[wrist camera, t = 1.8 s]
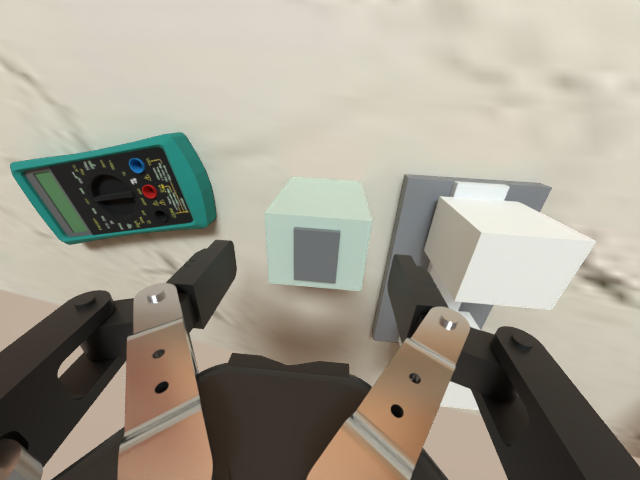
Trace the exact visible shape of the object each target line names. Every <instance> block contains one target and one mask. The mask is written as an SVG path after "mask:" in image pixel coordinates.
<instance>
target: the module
mask: <svg viewBox="0 0 640 480" xmlns="http://www.w3.org/2000/svg"><path fill="white" fill-rule="evenodd" d="M371 227H372V218H371V214H370V211H369V207H368V203H367V200H366V196H365V193H364V189H363V186H362V182H361V181H352V180H337V179H322V178H307V177H292V178H291V179H290V180H289V181H288V183H287V184H286V185H285V187H284V188H283V189H282V191H281V192H280V193H279V195H278V196H277V197H276V199H275V200H274V201H273V203H272V204H271V205H270V206H269V208H268V209H267V210H266V212H265V228H266V244H267V260H268V277H269V283H272V284H284V285H295V286H306V287H318V288H329V289H341V290H352V291H361V289H362V283H363V277H364V270H365V264H366V258H367V252H368V246H369V239H370V233H371Z"/></svg>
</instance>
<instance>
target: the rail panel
mask: <svg viewBox="0 0 640 480" xmlns="http://www.w3.org/2000/svg"><path fill="white" fill-rule="evenodd" d="M551 189H552V187H549V186H546V185H543V184H541V183H528V182H513V181H498V180H483V179H467V178H452V177H437V176H421V175H406V174H405V176H404V181H403V186H402V191H401V196H400V200H399V205H398V210H397V215H396V220H395V224H394V229H393V234H392V239H391V244H390V248H389V253H388V258H387V263H386V268H385V272H384V277H383V282H382V287H381V292H380V296H379V301H378V306H377V311H376V315H375V320H374V325H373V330H372V333H373V340H376V341H386V342H397V343H399V346H400V347H401V345H402V342H401V338H400V335H399V331H398V327H397V324H396V320H395V316H394V313H393V309H392V305H391V302H390V298H389V294H388V287H387V285H388V278H389V273H390V269H391V265H392V260H393V257H394V255H395V254H401V255H411V256H412V258H413V260H414V262H415V264H416V266H422V267H423V268H424V269H425V270H427V271H428V272H429V273H430V275H431V277H432V278H433V280H434V282H435V284H436V285H437V288H438V289H439V291H440V293H441V294H442V296H443V298H444V300H445V302H446V303H447V305H448V307H449V308H450V309H453V310H455V311H457V312H458V313H460V314H461V315H463V316H464V317H465V318H466V320H467V321H468V322H469V325H470V327H472V328H475V329H478V330H481V329H482V327H483V325H484V323H485V321H486V319H487V317H488V315H489V313H490V311H491V309H492V307H493V305H502V306H513V307H524V308H536V309H547V310H552V309H553V307H554V305H555V304H556V302H557V301H558V299H559V298H560V296H561V295H562V293H563V292H564V290H565V289H566V287H567V286H568V284H569V283H570V281H571V280H572V278H573V276H574V275H575V273H576V272H577V270H578V269H579V267H580V266H581V264H582V263H583V261H584V260H585V258H586V257H587V255H588V254H589V252H590V250H591V249H592V247H593V246H594V244H595V243H596V241H595V240H593V239H591V238H589V237H587V236H585V235H583V234H581V233H579V232H577V231H575V230H573V229H571V228H569V227H567V226H565V225H563V224H561V223H559V222H558V221H556V220H554V219H552V218H550V217H548V216H546V215H544V214H542V213H540V211H541V209H542V207H543V205H544V203H545V201H546V199H547V197H548V195H549V193H550V191H551ZM440 406H443V407H453V408H462V409H471V410H479V408H478V406H477V403H476V401H475V398H474V396H473V394H472V391H471V389H469V388H466V387H464V386H461V385H459V384H456V383H453V382H451V381H450V382H449V384H448V387H447V389H446V392H445V394H444V397H443V399H442V402H441V404H440Z"/></svg>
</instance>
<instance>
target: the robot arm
mask: <svg viewBox="0 0 640 480" xmlns="http://www.w3.org/2000/svg"><path fill="white" fill-rule="evenodd" d="M236 271H237V267H236V259H235V251H234V244H233V242H232V241H227V240H215V241H214V242H213V243H212V244H211V245H210V246H209V247H208V248H207V249H203V250H201V251H199V252H197V253H195V254H194V255H193V256H192V257H191V258H190V259H189V261H187V262H186V263H185V264H184V265H183V266H182V267H181V268H180V269H179V270H178V271H177V272H176V273H175V274H174V275H173V276H172V277H171V278H170V279H169V280H168V281H167V282H166V283H160V284H155V285H152V286H149V287H147V288H145V289H143V290H141V291H140V292H139V293H138V294H137V295H136V296H135V298H132V299H124V300H117V301H113V299H112V297H111V295H110V293H109V292H107V291H102V290H98V291H91V292H87V293H84V294H81V295H78V296H76V297H74V298H72V299H70V300H69V301H67V302H66V303H65V304H63V305H62V306H61V307H59V308H58V309H57V310H55V311H54V312H53V313H51V314H50V315H49V316H47V317H46V318H45V319H43V320H42V321H41V322H39V323H38V324H37V325H36V326H34V327H33V328H32V329H30V330H29V331H28V332H26V333H25V334H24V335H22V336H21V337H20V338H18V339H17V340H16V341H14V342H13V343H12V344H11V345H9V346H8V347H6V348H5V349H4V350H3V351H1V352H0V480H41V477H42V472H43V467H44V466H45V464H46V463H47V462H48V460H49V459H50V458H51V457H52V455H53V454H54V453H55V451H56V450H57V449H58V448H59V446H60V445H61V444H62V442H63V441H64V440H65V438H66V437H67V436H68V435H69V433H70V432H71V431H72V430H73V428H74V427H75V426H76V424H77V423H78V422H79V421H80V419H81V418H82V417H83V415H84V414H85V413H86V412H87V410H88V409H89V407H90V406H91V405H92V404H93V403H94V401H95V400H96V399H97V397H98V396H99V395H100V393H101V392H102V391H103V389H104V388H105V387H106V386H107V384H108V383H109V382H110V381H111V379H112V378H113V377H114V375H115V374H116V373H117V371H118V370H119V369H120V368H121V366H122V365H123V364H124V362H125V361H126V397H125V427H123V428H122V429H121V430H119V431H118V432H116V433H115V434H114V435H112V436H111V437H109V438H108V439H107V440H105V441H104V442H103V443H101V444H100V445H99V446H97V447H96V448H94V449H93V450H91V451H90V452H89V453H87V454H86V455H85V456H84V457H82V458H80V459H79V460H78V461H76V462H75V463H74V464H72V465H71V466H69V467H68V468H67V469H65V470H64V471H63V472H61V473H60V474H58V475H57V476H56V477H54V478H53V479H52V480H448V478H447V477H446V476H445V475H444V474H443V472H442V471H441V470H440V468H439V467H438V466H437V465H436V463H435V462H434V461H433V460H432V459H431V457H430V456H429V455H428V454H427V452H426V451H425V450H424V449H423V445H424V443H425V440H426V438H427V436H428V433H429V431H430V428H431V426H432V423H433V421H434V418H435V416H436V414H437V411H438V409H439V406H440V404H441V402H442V399H443V397H444V394H445V392H446V389H447V387H448V384H449V382H450V381H451V382H453V383H456V384H459V385H461V386H464V387H466V388H469V389H471V391H472V394H473V396H474V398H475V401H476V403H477V406H478V408H479V410H480V413H481V415H482V418H483V420H484V422H485V425H486V427H487V430H488V432H489V434H490V437H491V439H492V442H493V444H494V447H495V449H496V452H497V454H498V456H499V459H500V461H501V463H502V466H503V468H504V471H505V473H506V475H507V478H508V480H640V467H639V465H638V464H637V463H636V462H635V460H634V459H633V458H632V457H631V455H630V454H629V453H628V452H627V450H626V449H625V448H624V447H623V445H622V444H621V443H620V442H619V440H618V439H617V438H616V436H615V435H614V434H613V433H612V431H611V430H610V429H609V428H608V426H607V425H606V424H605V423H604V421H603V420H602V419H601V418H600V416H599V415H598V414H597V413H596V411H595V410H594V409H593V408H592V406H591V405H590V404H589V403H588V401H587V400H586V399H585V398H584V396H583V395H582V394H581V393H580V391H579V390H578V389H577V388H576V386H575V385H574V384H573V383H572V381H571V380H570V379H569V378H568V376H567V375H566V374H565V373H564V371H563V370H562V369H561V368H560V366H559V365H558V364H557V363H556V361H555V360H554V359H553V358H552V356H551V355H550V354H549V353H548V351H547V350H546V349H545V348H544V346H543V345H542V344H541V343H540V342H539V341H538V340H537V339H536V338H534V337H533V336H531V335H530V334H528V333H526V332H524V331H522V330H520V329H517V328H514V327H508V326H504V327H500V328H498V330H497V331H496V333H495V335H494V334H491V333H488V332H484V331H481V330H478V329H475V328H472V327H470V325H469V322H468V321H467V320H466V318H465V317H464V316H463V315H461V314H460V313H458V312H457V311H455V310H453V309H450V308H449V307H448V305H447V303H446V302H445V300H444V298H443V296H442V294H441V293H440V291H439V289H438V288H437V285H436V284H435V282H434V280H433V278H432V277H431V275H430V273H429V272H428V271H427V270H425V269H424V268H423V267H422V266H416V264H415V262H414V260H413V258H412V256H411V255H401V254H395V255H394V257H393V260H392V265H391V269H390V273H389V278H388V285H387V287H388V294H389V298H390V302H391V305H392V309H393V313H394V316H395V320H396V324H397V327H398V331H399V335H400V338H401V342H402V345H401V347H400V348H399V350H398V351H397V352H396V354H395V355H394V357H393V358H392V360H391V361H390V363H389V364H388V365H387V367H386V368H385V370H384V371H383V373H382V374H381V376H380V377H379V378H378V380H377V381H376V383H375V384H374V386H373V387H372V386H370V385H369V384H368V383H366V382H365V381H363V380H362V379H360V378H358V377H356V376H354V375H351V374H349V364H344V363H333V362H323V361H318V362H311V363H304V364H297V365H285V364H282V363H280V362H277V361H274V360H271V359H268V358H266V357H263V356H259V355H248V354H238V353H232V355H231V357H230V360H229V362H228V363H224V364H220V365H216V366H214V367H211V368H208V369H206V370H204V371H202V372H200V373H199V371H198V367H197V363H196V359H195V354H194V350H193V346H192V342H191V338H190V334H189V333H190V332H191V330H192V329H193V328H198V329H204V328H205V326H206V324H207V323H208V321H209V319H210V318H211V316H212V315H213V313H214V311H215V310H216V308H217V306H218V305H219V303H220V302H221V300H222V298H223V297H224V295H225V293H226V292H227V290H228V289H229V287H230V285H231V284H232V282H233V280H234V279H235V276H236ZM79 345H80V346H81V348H82V349H83V351H84V353H83V354H82V355H81V356H80V357H79V358H78V359H77V360H76V361H75V362H74V363H73V364H72V365H71V366H70V367H69V368H68V369H67V370H66V372H64V373H63V374H62V375H61V377H59V378H58V377H57V373H58V369H59V367H60V365H61V364H62V362H63V361H64V360H65V359H66V358H67V357H68V356H69V355H70V354H71V353H72V352H73V351H74V350H75V349H76V348H77V347H78V346H79Z"/></svg>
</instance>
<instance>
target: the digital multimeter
mask: <svg viewBox="0 0 640 480" xmlns="http://www.w3.org/2000/svg"><path fill="white" fill-rule="evenodd" d="M148 148H149V149H148ZM137 150H138V151H137ZM131 151H132V152H131ZM10 168H11V172H12V175H13V177H14V178H15V180H16V181H17V183H18V184H19V186H20V187H21V189H22V190H23V192H24V193H25V195H26V196H27V198H28V199H29V201H30V202H31V203H32V205H33V206H34V208H35V209H36V210H37V212H38V213H39V214H40V216H41V217H42V218H43V220H44V221H45V222H46V224H47V225H48V226H49V227H50V229H51V230H52V231H53V232H54V234H55V235H56V236H57V237H58V239H59V240H61V241H62V242H64V243H66V244H70V245H71V244H77V243H82V242H88V241H94V240H99V239H105V238H111V237H118V236H125V235H132V234H139V233H150V232H160V231H171V230H184V229H199V228H205V227H207V226H208V225H209V224H210V223H211V222H213V221H214V220H215V219H216V210H215V202H214V197H213V192H212V187H211V184H210V181H209V178H208V176H207V173H206V170H205V168H204V166H203V165H202V163H201V161H200V159H199V157H198V155H197V153H196V152H195V150H194V148H193V147H192V145H191V144H190V142H189V140H188V139H187V137H186V135H184V134H183V133H179V132H178V133H170V134H163V135H159V136H155V137H151V138H147V139H143V140H140V141H136V142H131V143H127V144H122V145H118V146H113V147H109V148H104V149H99V150H95V151H89V152H83V153H77V154H70V155H62V156H54V157H47V158H39V159H32V160H25V161H19V162H13V163H11V164H10ZM89 179H90V180H89ZM88 182H89V183H88ZM88 190H89V191H88ZM90 196H91V197H90ZM91 198H92V199H91ZM95 204H96V205H95ZM136 211H137V212H136Z"/></svg>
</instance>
